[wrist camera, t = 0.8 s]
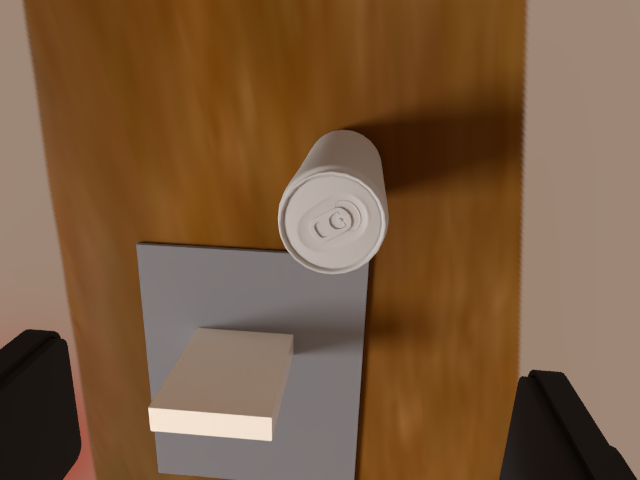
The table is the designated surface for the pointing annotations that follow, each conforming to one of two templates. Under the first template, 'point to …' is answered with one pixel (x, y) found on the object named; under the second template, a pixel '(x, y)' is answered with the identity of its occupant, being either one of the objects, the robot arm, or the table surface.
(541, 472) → the robot arm
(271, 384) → the tile
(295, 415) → the mat
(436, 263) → the table surface
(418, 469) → the table surface
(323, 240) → the beverage can
